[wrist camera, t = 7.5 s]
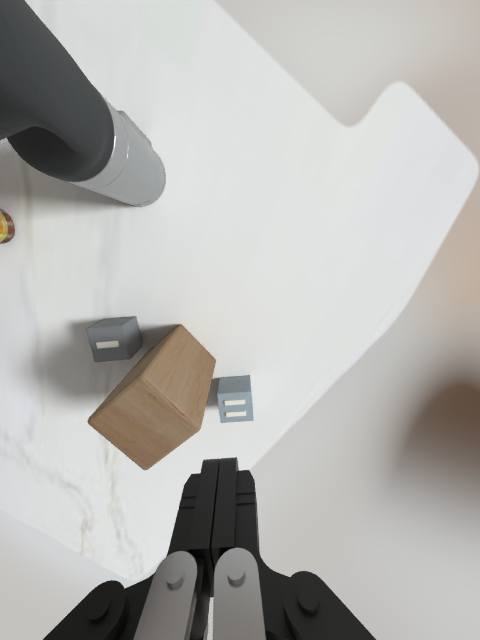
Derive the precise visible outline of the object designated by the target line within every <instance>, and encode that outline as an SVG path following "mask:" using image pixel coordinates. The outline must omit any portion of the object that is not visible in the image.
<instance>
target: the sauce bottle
mask: <svg viewBox="0 0 480 640" xmlns="http://www.w3.org/2000/svg"><path fill="white" fill-rule="evenodd" d="M14 231H15V230H14V224H13V221H12V219H11V217H10V216H9V215H8V214H7V213H6V212H4V211H3V210H1V209H0V244H2V243H7V242H9V241H10V240H11V239H12V238H13V236H14Z"/></svg>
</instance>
